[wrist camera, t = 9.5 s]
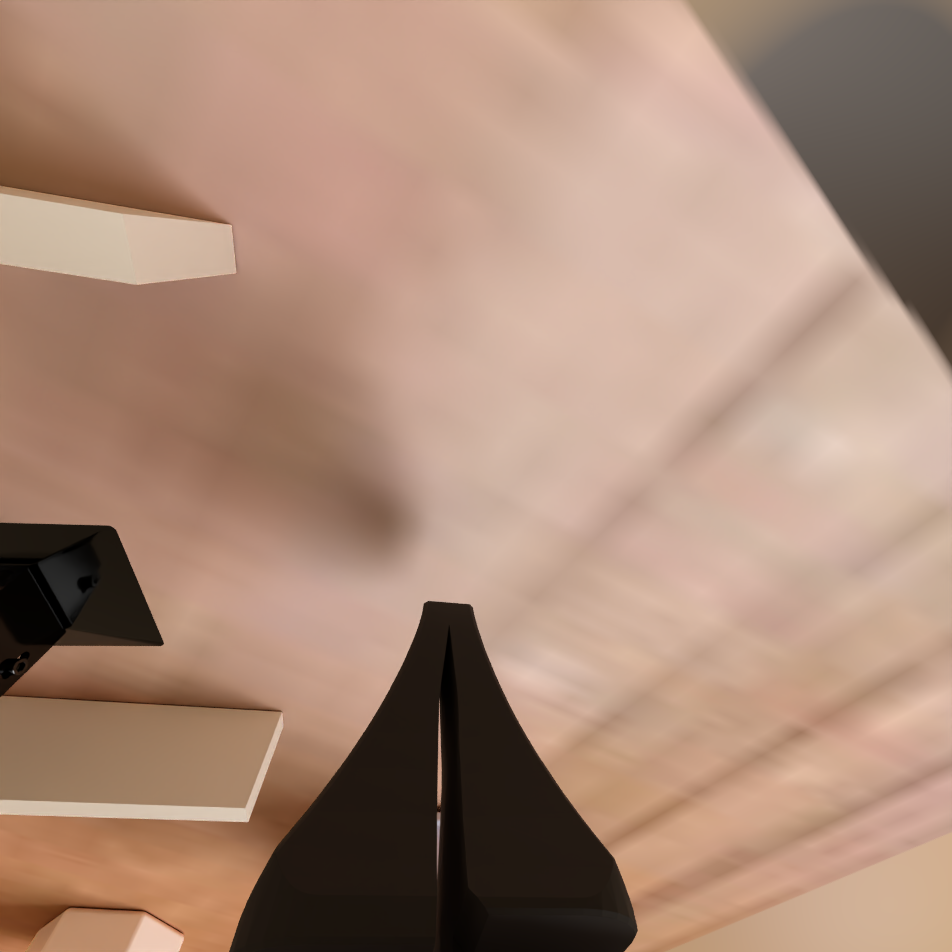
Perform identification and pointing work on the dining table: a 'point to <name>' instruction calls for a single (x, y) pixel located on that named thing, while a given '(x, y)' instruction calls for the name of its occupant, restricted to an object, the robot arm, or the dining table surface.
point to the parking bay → (111, 723)
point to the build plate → (66, 594)
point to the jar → (106, 933)
